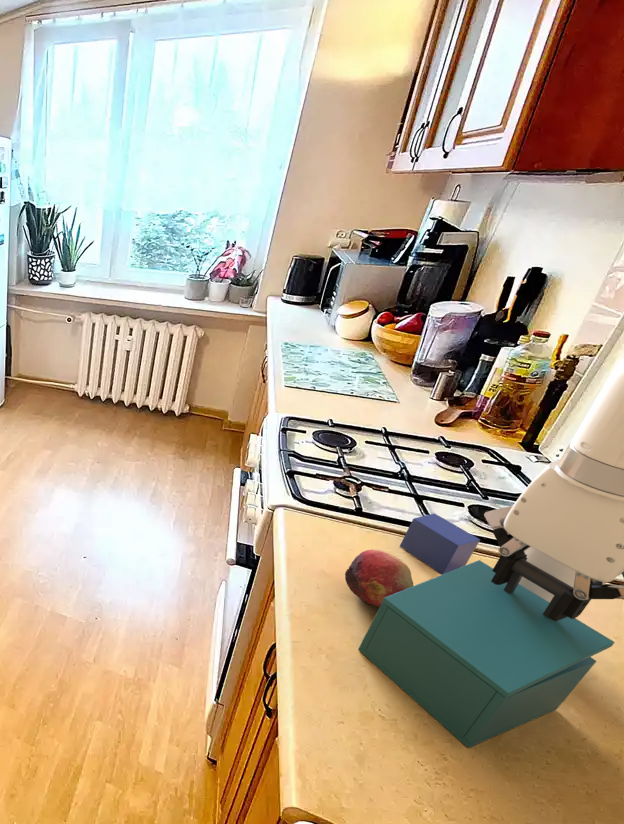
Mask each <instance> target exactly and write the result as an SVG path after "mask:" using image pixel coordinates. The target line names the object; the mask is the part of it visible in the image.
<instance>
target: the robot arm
mask: <svg viewBox="0 0 624 824" xmlns="http://www.w3.org/2000/svg"><path fill="white" fill-rule="evenodd" d="M483 516H484V518H485V520H486V521H487V524H488V525H489V526H490V528H491V529H492V534H493V535H494V538H495V540H496V542H497V544H498V546H499V548H498V553H499V554H500V556H499V558H498V559H497V561H496V562H495V565H494V567H492V568H493V572H495V575H494V577H493V578H492V580H491V582H492V583H494V584H496V585H497V584H498V585H501V584H504V583H507V582H508V581H509V579H510V577H511V576H512V574H513V572H514V571H512V570H511V568H512V566H513V564H514V563H515V562H517V561H518V560H520V559H524V560H527V558H526V557H527V555H526V554H525V552H524V551H526V550H527V549H528V548H530V547H532V548H534V549H536V550H538V551H540V552H542V553H543V554H545V555H547V556H549V557H551V558H553V559H555V560H556V561H558V562H560V563H562V564H564V565H566V566H568V567H569V568H571V569H573V570H575V571H576V572H575V580H574V587H573V589H572V590H570V591H567V592H565V593H563V594H562V596H561V597H560V599H559V600H558V602H557V603H556V605H555V606H554V608H553V609H552V610H551V612H550V613H549V615H548V616H549V618H550V619H552V620H553V621H558V620H561V619H564V618H566V617H569V618H571V619H574V618H576V619H577V618H578V617H579V616H581V614H582V613H583V611H584V610H585V609H586V608H587V606H588V605H589V604H590V602H591V601H592V600H622V601H623V600H624V585H623V584H617V583H614V584H611V582H613V581H615V579H616V578H617V577H619V576H621V575H622V578H623V579H624V358H622V359H621V360H620V361H619V362H618V363H617V364H616V366H615V367H614V369H613V370H612V371H611V373H610V374H609V376H608V378H607V379H606V381H605V383H604V385H603V386H602V388H601V390H600V391H599V393H598V395H597V397H596V398H595V400H594V402H593V404H592V406H591V407H590V409H589V410H588V411H587V414H586V416H585V417H584V419H583V421H582V422H581V424H580V425H579V427H578V429H577V431H576V433H575V434H574V436H573V437H572V439H571V441H570V443H569V444H568V446H567V448H566V449H565V451H564V453H563V454H562V456H561V458H560V459H557V460H554V461H552V462H550V463H548V464H547V465H546V466H545V467H544V468H543V469H542V470H541V471H540V472H539V473H538V474H537V475H536V476H535V477H534V479H532V481H530V483H529V484H528V486H527V487H526V488H525V489H524V490H523V492H522V493H521V494H520V495H519V497H518V498H517V499H516V501H515V502H514V504H513V505H509V506H506V507H505V506H504V507H501V508H496V509H492V510H488V511H485V512H484V514H483ZM607 583H609V584H607Z"/></svg>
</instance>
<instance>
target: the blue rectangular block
mask: <svg viewBox="0 0 624 824" xmlns="http://www.w3.org/2000/svg"><path fill="white" fill-rule="evenodd" d="M401 540H402V541H401V542H400V544H399V547H400V548H401V549H403V550H404V551H406V552H408V553H409V554H410V555H412V556H414V557H415V558H417V559H418V560H419V561H421V562H423V563H424V564H426V565H427V566H429V567H430V568H431V569H433V570H434V571H436V572H437V573H439V574H440V575H443V574H445V573H448V572H450V571H453V570H455V569H458V568H460V567H463V566H465V565H467V563H468V562H469V560H470V558H471V556H472V555H473V553H474V552H475V549H476V548H477V547H478V545H479V543H480V541H481V539H480V538H478V537H477V536H475V535H473V534H471V533H469V532H468V531H467V530H464V529H463V528H462V527H461V528H460V527H459V526H457V525H455V524H454V523H453V522H451V521H449V520H447V519H445V518H443V517H442V516H440V515H438V514H436V513H430V514H425V515H422V516H418V517H414V518H412V520H411V522H410V525H409V526H408V529H407V530H406V532H405V534H404V536H403V538H402V539H401Z"/></svg>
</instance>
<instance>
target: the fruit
mask: <svg viewBox="0 0 624 824" xmlns="http://www.w3.org/2000/svg"><path fill="white" fill-rule="evenodd" d="M411 571H412V570H411V569H410V568H409V565H407V564H406V563H405V562H404V561H403V560H402V559H400V558H399V557H396V556H395V555H393V554H390V553H389V552H385V550H384V551H383V550H380V549H367V550H365V551H361V552H360V553H359V554H358V555H356V556H355V558H354V559H353V560H352V561H351V563H350V565H349V566H348V568H347V569H346V570H345V573H344V579H345V583H346V585H347V586H348V588H349V590H350V591H351V592H352V593H353V594H354V595H355V596H357V598H359V599H360V600H362V601H364V602H365V603H367V604H370V605H371V606H375V607H378V608H380V606H381V604H382V602H383V600H384V598H385V597H388V596H390V595H393V594H395V593H398V592H400V591H403V590H405V589H408V588H410V587H413V586H415V585H414V581H413V577H412V572H411Z"/></svg>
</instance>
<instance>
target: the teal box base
mask: <svg viewBox="0 0 624 824" xmlns="http://www.w3.org/2000/svg"><path fill="white" fill-rule="evenodd" d="M357 650H358V652H360V653H361V654H362V655H364V657H366V658H367V659H368V660H369V661H370V662H371V663H372V664H373V665H375V667H377V669H379V670H380V671H381V672H382V673H383V674H384V675H386V676H387V677H388V678H389V679H390V680H391V681H392V682H393V683H394V684H396V685H397V686H398V687H399V688H400V689H401V690H402V691H403V692H405V693H406V694H407V695H408V696H409V697H410V698H411V699H412V700H413V701H415V702H416V703H417V704H418V705H419V706H420V707H421V708H423V709H424V711H425V712H427V713H428V714H429V715H430V716H431V717H432V718H433V719H434V720H436V721H437V722H438V723H439V724H440V725H441V726H443V728H445V729H446V730H447V731H448V732H449V733H451V734H452V736H453V737H455V739H457V740H458V741H459V742H460V743H462V745H463V746H465V747H466V748H467V749H470V748H472V747H474V746H477V745H478V744H481V743H483V742H486V741H488V740H490V739H493V738H495V737H497V736H499V735H501V734H504V733H507V732H508V731H511V730H513V729H515V728H518V727H520V726H522V725H524V724H527V723H529V722H532V721H534V720H536V719H538V718H540V717H543V716H545V715H548V714H550V713H552V712H554V711H556V710H558V708H560V706H561V705H562V704H563V702H564V701H565V700H566V699H567V698H568V696H570V694H571V693H572V692H573V691H574V689H575V688H576V687H577V685H579V683H580V682H581V681H582V680H583V679H584V677H585V676H586V675H587V673H588V672H589V671H590V670H591V669H592V667H594V665H595V664H596V663H597V660H596V659H594V658H593V657H592V656H591V657H589V658H587V659H585V660H583V661H581V662H579V663H577V664H575V665H573V666H571V667H568V668H566V669H564V670H562V671H560V672H558V673H556V674H554V675H552V676H550V677H548V678H546V679H544V680H542V681H540V682H538V683H536V684H533V685H531V686H529V687H527V688H525V689H523V690H521V691H519V692H517V693H515V694H513V695H511V696H509V697H507V698H505V697H504V696H503V695H502V694H500V693H499V692H498V691H496V690H495V689H494V688H493V687H491V686H490V685H489V684H487V683H486V682H485V681H484V680H482V679H481V678H480V677H478V676H477V675H476V674H475V673H473V672H472V671H471V670H469V669H468V668H467V667H466V666H464V665H463V664H462V663H460V662H459V661H458V660H457V659H455V658H454V657H453V656H451V655H450V654H449V653H448V652H446V651H445V650H444V649H442V648H441V647H440V646H439V645H437V644H436V643H435V642H433V641H432V640H431V639H430V638H428V637H427V636H426V635H424V634H423V633H422V632H421V631H419V630H418V629H417V628H415V627H414V626H413V625H412V624H410V623H409V622H408V621H406V620H405V619H404V618H403V617H401V616H400V615H399V614H397V613H396V612H395V611H394V610H392V609H391V608H390V607H388V606H387V605H386V604H385V603H383V602H382V604H381V606H380V607H378V610H377V612H376V613H375V616H374V618H373V619H372V621H371V624H370V625H369V627H368V629H367V631H366V634H365V635H364V637H363V639H362V640H361V643H360V645H359V646H358V649H357Z"/></svg>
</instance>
